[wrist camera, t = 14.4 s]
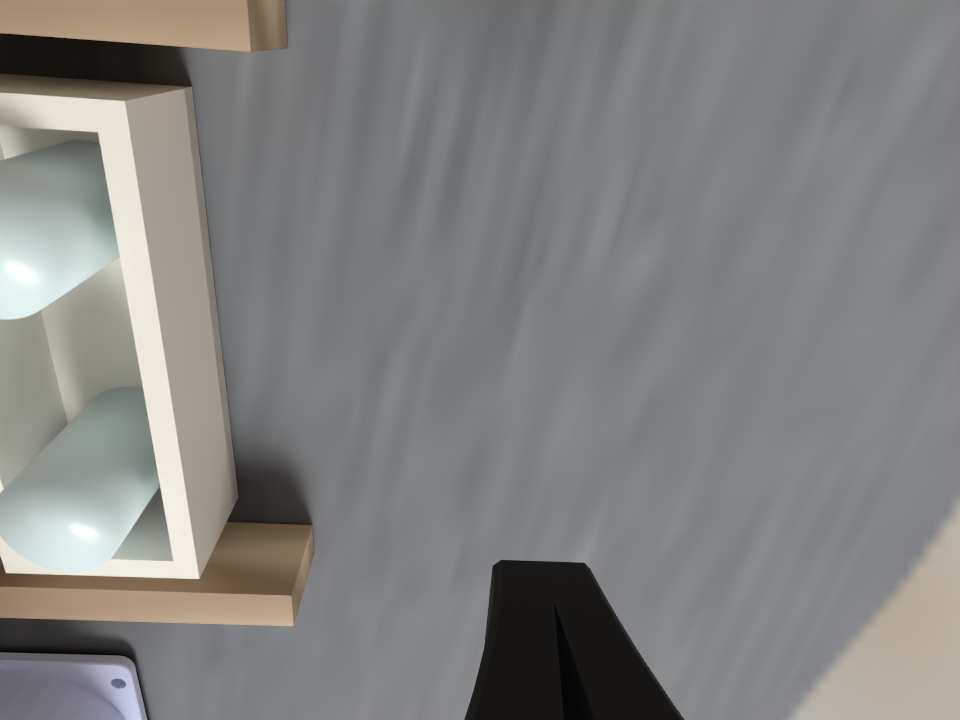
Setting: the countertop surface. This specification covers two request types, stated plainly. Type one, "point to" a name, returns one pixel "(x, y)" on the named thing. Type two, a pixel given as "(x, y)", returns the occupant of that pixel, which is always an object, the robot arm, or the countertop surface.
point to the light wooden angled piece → (241, 546)
